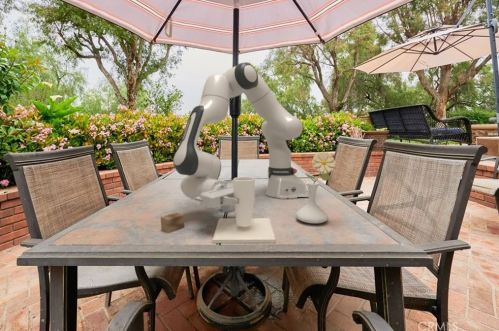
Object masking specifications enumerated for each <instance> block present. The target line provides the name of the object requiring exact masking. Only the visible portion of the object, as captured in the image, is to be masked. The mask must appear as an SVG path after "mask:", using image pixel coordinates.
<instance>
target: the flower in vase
mask: <svg viewBox="0 0 499 331" xmlns="http://www.w3.org/2000/svg"><path fill="white" fill-rule="evenodd" d="M336 163H337V162H336V160H335V158H334V157H333V155H331V153H328V152H324V151H321V152H318V153H315V154H314V155H313V158H312V161H311V166H312V167H313V169H314V171H316V172H319V175H318V176H317V178H315V177H314V176H313V175H310V174H308V173H307V172H306V173H305V174H306V176H307V177H309V178H310V179H314V181H307V182H305V186H307V189H308V190H307V191H308V192H309V197H308V203H306V204H305V205H303V207H301V208H300V209H298V210H297V211H296V213H295V217H296V219H297V220H299V221H300V222H304V223H307V224H321V223H325V222H326V221H327V220H328V219H329V216H328V214H327V213H326V212H325V211H324V210H323V209H322V208H321V207H320V206H319V205H318V204H317V202H316V198H317V197H316V195H317V190H318V187H320V185H321V183H320V182H317V181H318V179H319V178H320V179H321V180H323V181H330V180H333V178H332V176H330V174H329V173H331V172H333V171H334V170H335V167H336Z"/></svg>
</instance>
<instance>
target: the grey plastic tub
mask: <svg viewBox="0 0 499 331" xmlns="http://www.w3.org/2000/svg"><path fill="white" fill-rule="evenodd" d="M220 212H222V213H235V205H233V204H226V205H222V206H220Z"/></svg>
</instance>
